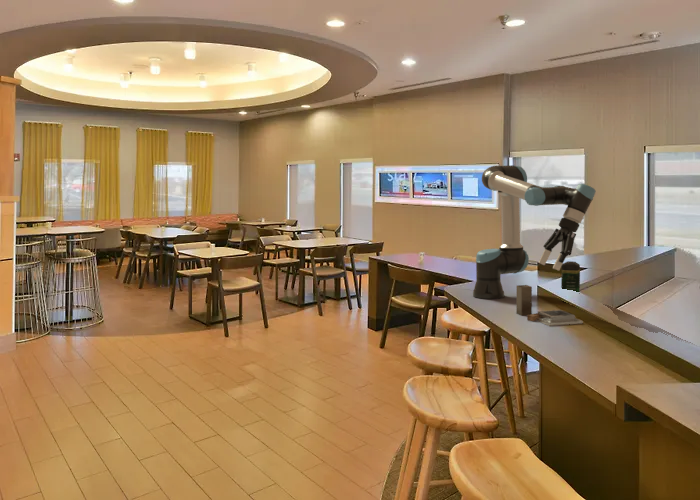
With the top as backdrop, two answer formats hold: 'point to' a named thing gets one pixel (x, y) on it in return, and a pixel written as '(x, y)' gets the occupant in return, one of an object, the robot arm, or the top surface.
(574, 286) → the coffee jar
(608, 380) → the top surface
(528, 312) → the stop bar
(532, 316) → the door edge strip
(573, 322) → the keeper
